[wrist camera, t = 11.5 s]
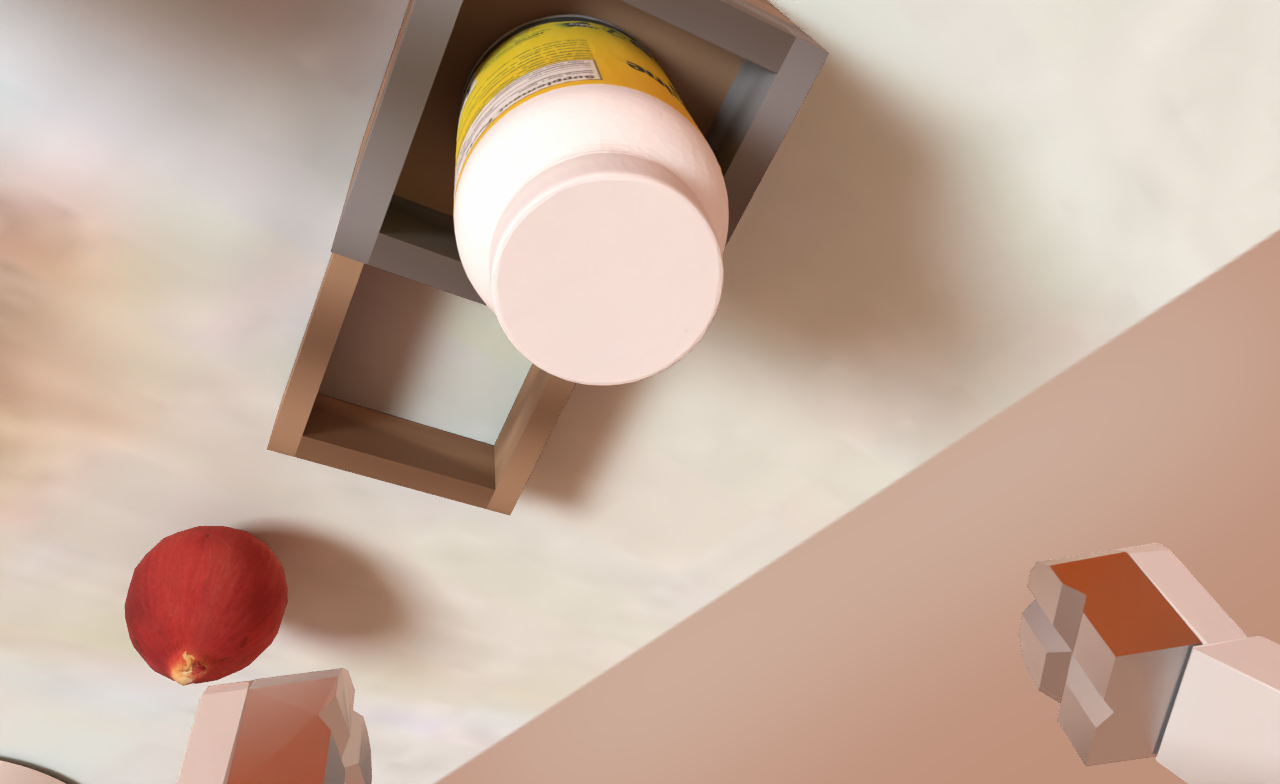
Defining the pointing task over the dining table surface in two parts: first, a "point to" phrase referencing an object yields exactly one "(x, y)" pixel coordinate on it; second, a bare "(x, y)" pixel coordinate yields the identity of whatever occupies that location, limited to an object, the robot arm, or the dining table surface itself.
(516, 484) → the stepped holder
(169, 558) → the onion
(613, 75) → the pill bottle
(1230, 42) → the dining table surface
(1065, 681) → the robot arm
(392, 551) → the dining table surface
